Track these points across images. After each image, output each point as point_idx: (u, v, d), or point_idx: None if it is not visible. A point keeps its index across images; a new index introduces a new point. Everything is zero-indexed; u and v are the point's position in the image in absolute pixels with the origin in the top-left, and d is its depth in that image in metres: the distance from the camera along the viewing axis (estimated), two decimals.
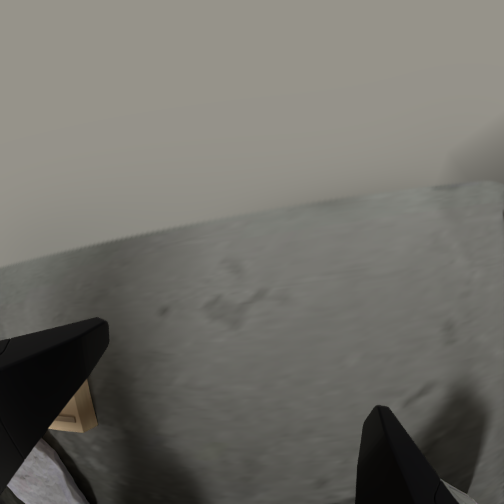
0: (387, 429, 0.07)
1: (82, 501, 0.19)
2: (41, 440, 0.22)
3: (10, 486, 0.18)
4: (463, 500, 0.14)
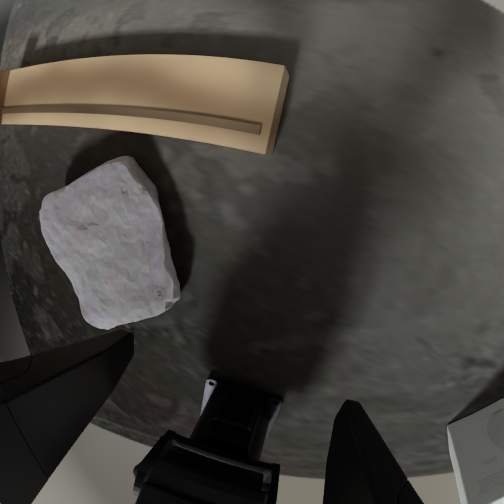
0: (354, 424, 0.07)
1: (175, 273, 0.20)
2: (139, 168, 0.20)
3: (51, 243, 0.20)
4: None
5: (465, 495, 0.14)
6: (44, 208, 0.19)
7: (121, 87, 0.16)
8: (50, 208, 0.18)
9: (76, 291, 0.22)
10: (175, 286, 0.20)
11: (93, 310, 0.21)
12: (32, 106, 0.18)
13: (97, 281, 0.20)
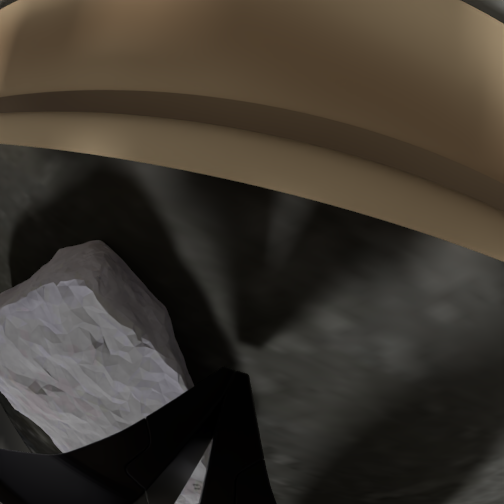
0: (228, 393, 0.07)
1: None
2: (125, 274, 0.09)
3: (0, 388, 0.09)
4: None
5: None
6: None
7: (153, 32, 0.05)
8: None
9: (58, 446, 0.11)
10: None
11: None
12: None
13: None
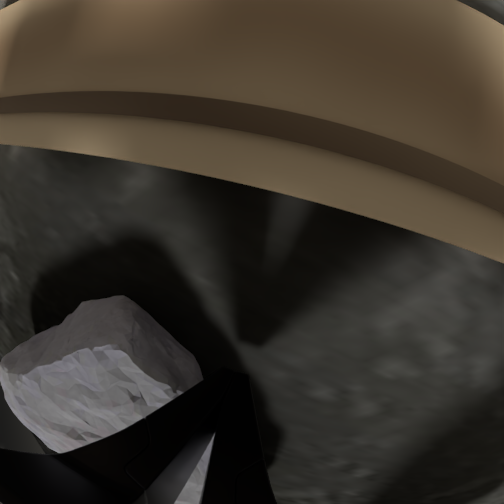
0: (229, 393, 0.07)
1: None
2: (154, 329, 0.10)
3: (34, 432, 0.10)
4: None
5: None
6: (4, 387, 0.09)
7: (352, 55, 0.04)
8: (11, 397, 0.08)
9: None
10: None
11: None
12: (5, 96, 0.06)
13: None
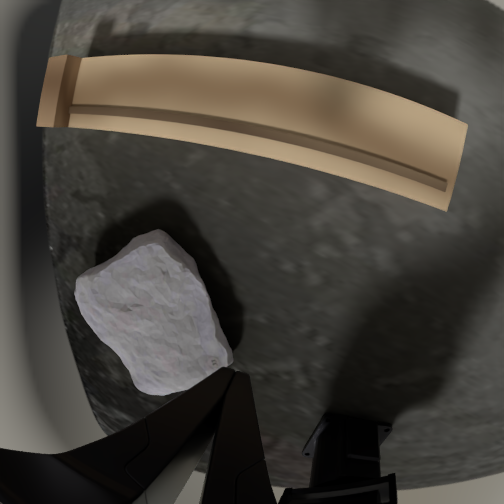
0: (229, 393, 0.07)
1: (227, 342, 0.21)
2: (174, 242, 0.20)
3: (93, 323, 0.21)
4: None
5: None
6: (80, 291, 0.20)
7: (285, 106, 0.15)
8: (87, 292, 0.19)
9: (125, 364, 0.22)
10: (228, 354, 0.20)
11: (146, 381, 0.22)
12: (129, 109, 0.16)
13: (147, 356, 0.21)
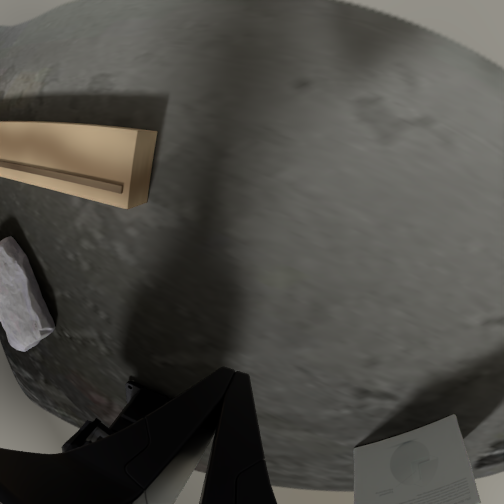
0: (229, 393, 0.07)
1: (41, 311, 0.25)
2: (15, 244, 0.25)
3: None
4: None
5: None
6: None
7: (37, 150, 0.19)
8: None
9: (3, 327, 0.27)
10: (41, 320, 0.25)
11: (12, 338, 0.27)
12: None
13: (8, 319, 0.26)
